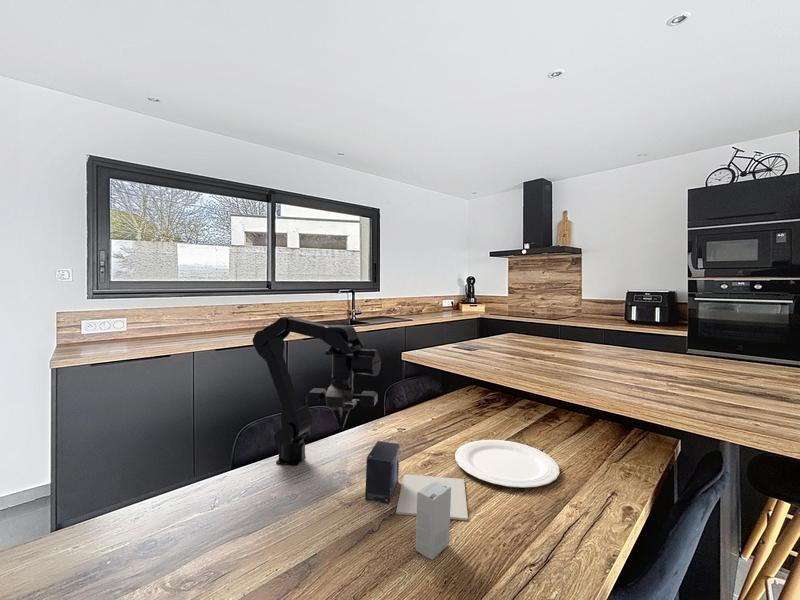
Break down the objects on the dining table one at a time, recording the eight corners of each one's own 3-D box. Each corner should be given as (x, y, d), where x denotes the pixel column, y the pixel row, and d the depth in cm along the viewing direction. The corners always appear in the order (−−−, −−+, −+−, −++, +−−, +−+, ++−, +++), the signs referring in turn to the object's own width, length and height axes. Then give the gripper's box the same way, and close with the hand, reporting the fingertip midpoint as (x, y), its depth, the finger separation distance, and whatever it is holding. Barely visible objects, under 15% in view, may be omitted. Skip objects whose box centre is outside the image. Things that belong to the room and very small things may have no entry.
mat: (396, 513, 85) (396, 511, 85) (403, 476, 102) (404, 474, 102) (467, 520, 83) (467, 518, 83) (463, 481, 100) (463, 479, 100)
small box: (390, 504, 89) (391, 461, 88) (364, 501, 90) (365, 457, 90) (399, 481, 99) (400, 442, 99) (375, 478, 101) (376, 440, 100)
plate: (574, 466, 111) (575, 460, 110) (532, 508, 89) (532, 500, 89) (486, 437, 130) (486, 432, 130) (434, 465, 109) (434, 459, 109)
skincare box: (432, 535, 78) (433, 478, 78) (450, 545, 75) (452, 486, 75) (413, 551, 74) (415, 490, 73) (432, 562, 71) (434, 499, 70)
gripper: (298, 377, 96) (297, 437, 97) (370, 381, 94) (369, 442, 95) (313, 367, 107) (312, 422, 108) (378, 370, 105) (377, 426, 106)
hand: (341, 428), depth 104 cm, fingers closed
